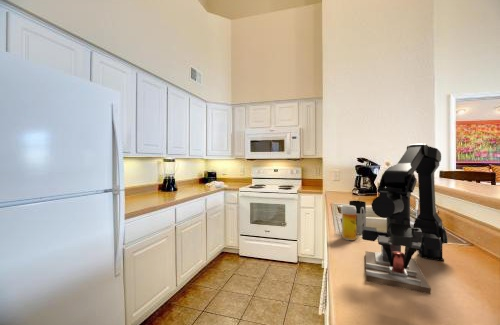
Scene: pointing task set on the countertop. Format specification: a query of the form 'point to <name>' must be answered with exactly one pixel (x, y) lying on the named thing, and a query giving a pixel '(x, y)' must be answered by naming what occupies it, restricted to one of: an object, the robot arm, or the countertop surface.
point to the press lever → (398, 265)
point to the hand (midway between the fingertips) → (398, 266)
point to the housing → (393, 248)
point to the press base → (380, 274)
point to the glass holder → (359, 214)
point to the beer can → (349, 222)
